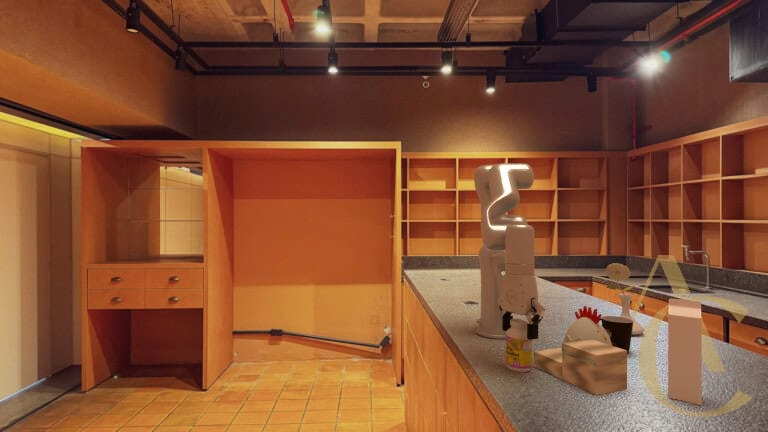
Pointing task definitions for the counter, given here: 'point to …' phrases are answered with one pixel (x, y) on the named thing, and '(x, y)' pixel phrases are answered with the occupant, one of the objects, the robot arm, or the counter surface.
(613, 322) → the coffee mug
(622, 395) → the counter surface
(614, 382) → the stand
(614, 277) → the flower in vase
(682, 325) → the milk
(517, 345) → the supplement bottle
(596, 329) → the kitchen timer
